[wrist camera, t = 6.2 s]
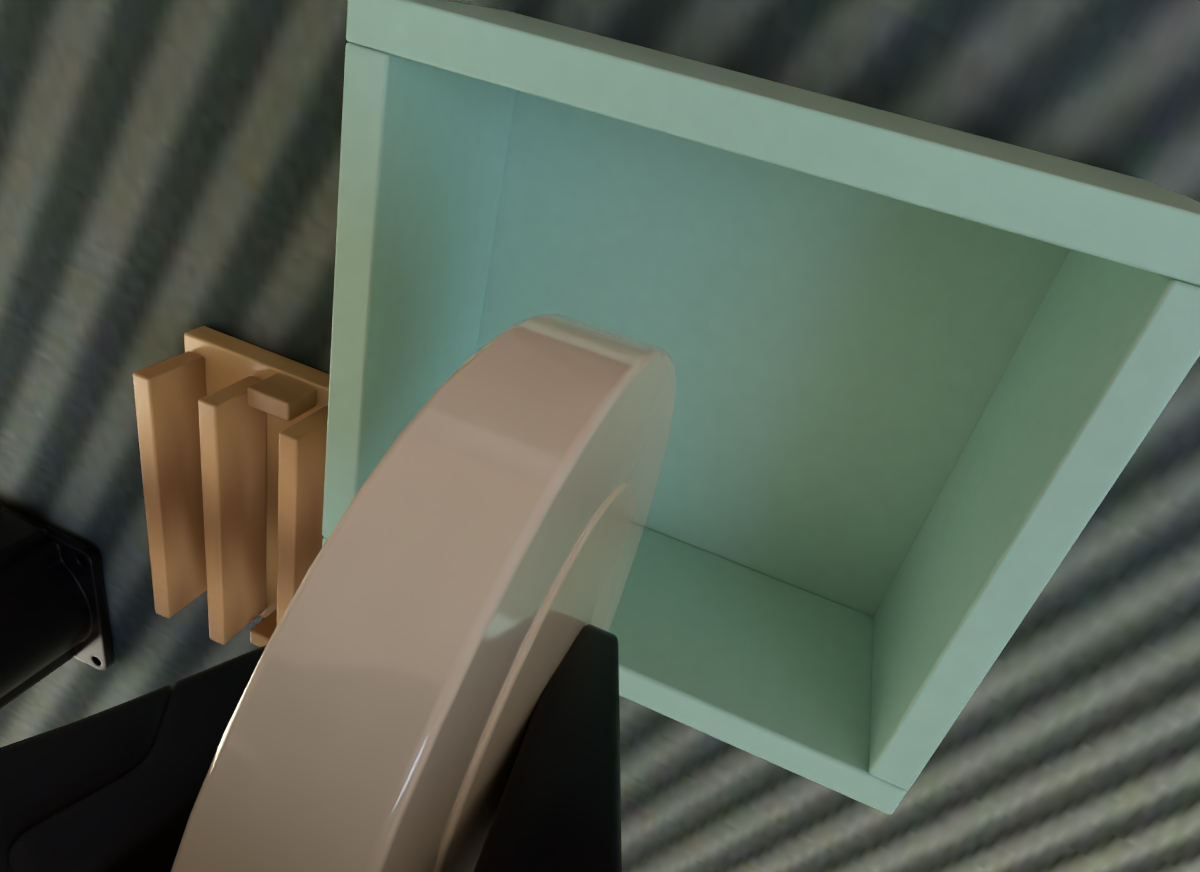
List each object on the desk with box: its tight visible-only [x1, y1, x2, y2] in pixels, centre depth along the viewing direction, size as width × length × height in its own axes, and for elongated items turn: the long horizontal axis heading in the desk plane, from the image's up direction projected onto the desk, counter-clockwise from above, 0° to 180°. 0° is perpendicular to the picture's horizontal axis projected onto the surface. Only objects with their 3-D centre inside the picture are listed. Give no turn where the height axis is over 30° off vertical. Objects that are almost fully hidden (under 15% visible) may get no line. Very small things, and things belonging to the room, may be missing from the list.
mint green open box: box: [322, 0, 1200, 815], centre depth 16 cm, size 12×13×6 cm
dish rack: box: [133, 326, 330, 647], centre depth 23 cm, size 10×8×3 cm
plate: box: [171, 313, 676, 872], centre depth 8 cm, size 8×1×8 cm, turn 166°
